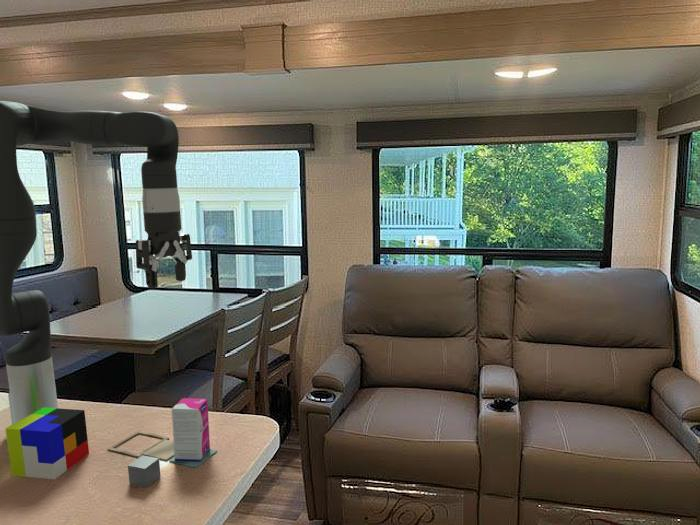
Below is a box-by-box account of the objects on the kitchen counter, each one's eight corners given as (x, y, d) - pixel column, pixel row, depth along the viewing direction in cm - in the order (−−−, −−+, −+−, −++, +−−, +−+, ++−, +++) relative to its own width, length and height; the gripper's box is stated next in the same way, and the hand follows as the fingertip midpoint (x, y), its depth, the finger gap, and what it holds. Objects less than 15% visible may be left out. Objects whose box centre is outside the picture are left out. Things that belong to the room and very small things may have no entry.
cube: (129, 484, 102) (127, 465, 101) (144, 474, 105) (142, 455, 105) (146, 488, 100) (144, 468, 100) (160, 477, 104) (159, 458, 104)
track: (107, 450, 115) (107, 448, 115) (139, 432, 123) (138, 430, 123) (192, 470, 106) (191, 469, 106) (220, 449, 114) (220, 448, 114)
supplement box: (201, 462, 109) (197, 409, 107) (173, 461, 109) (169, 409, 107) (211, 448, 114) (207, 397, 112) (185, 447, 115) (181, 397, 113)
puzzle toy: (54, 479, 104) (49, 431, 103) (11, 475, 106) (5, 428, 105) (89, 454, 114) (84, 410, 113) (49, 450, 116) (43, 407, 115)
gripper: (150, 212, 105) (156, 292, 108) (197, 207, 118) (202, 279, 121) (122, 211, 109) (129, 289, 111) (171, 207, 121) (176, 277, 124)
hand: (167, 284), depth 116 cm, fingers open, 8 cm apart
